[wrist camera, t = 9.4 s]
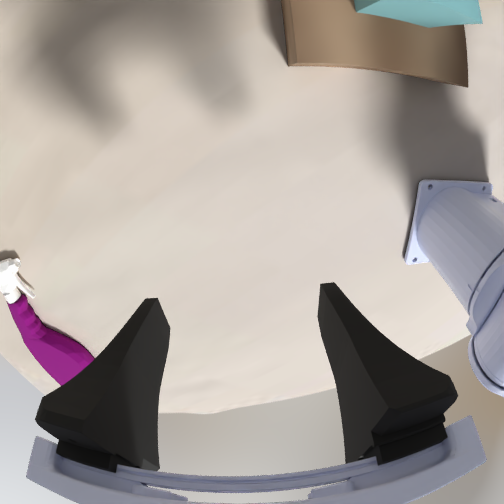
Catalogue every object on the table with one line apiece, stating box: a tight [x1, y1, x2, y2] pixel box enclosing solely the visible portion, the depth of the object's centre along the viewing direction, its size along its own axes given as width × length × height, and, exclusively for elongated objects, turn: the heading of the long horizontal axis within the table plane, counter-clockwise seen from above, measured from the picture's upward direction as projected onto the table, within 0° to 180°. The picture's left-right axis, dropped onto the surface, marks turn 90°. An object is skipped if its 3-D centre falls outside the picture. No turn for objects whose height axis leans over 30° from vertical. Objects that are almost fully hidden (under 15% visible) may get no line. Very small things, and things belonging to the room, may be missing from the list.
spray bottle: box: [0, 258, 94, 386], centre depth 27 cm, size 3×11×24 cm
